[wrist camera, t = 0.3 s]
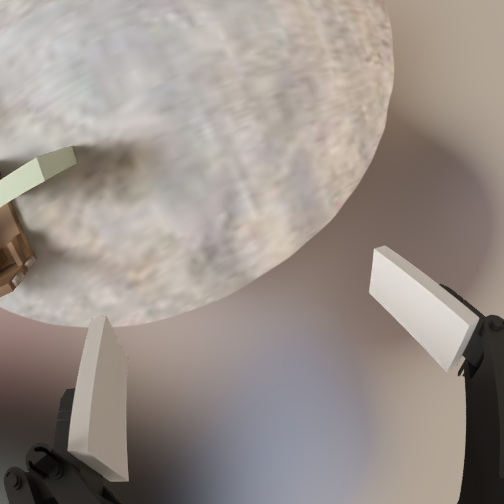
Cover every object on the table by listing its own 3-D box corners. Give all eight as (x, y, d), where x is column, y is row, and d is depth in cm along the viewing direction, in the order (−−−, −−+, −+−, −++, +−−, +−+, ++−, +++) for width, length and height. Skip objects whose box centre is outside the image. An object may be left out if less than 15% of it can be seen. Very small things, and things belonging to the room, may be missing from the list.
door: (16, 195, 29) (-24, 223, 20) (11, 179, 28) (-32, 203, 18) (77, 163, 30) (44, 181, 21) (71, 145, 29) (36, 157, 20)
